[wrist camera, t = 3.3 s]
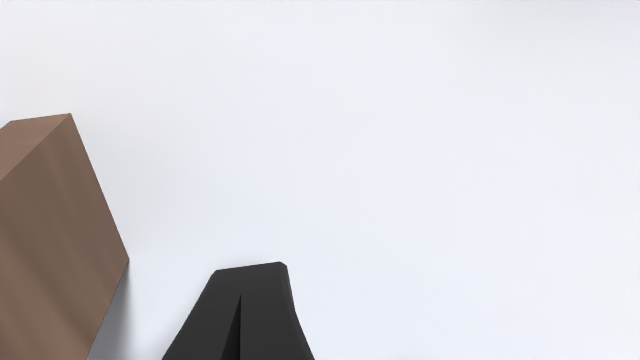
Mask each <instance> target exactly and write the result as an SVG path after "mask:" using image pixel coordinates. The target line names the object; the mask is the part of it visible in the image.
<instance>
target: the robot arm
mask: <svg viewBox="0 0 640 360" xmlns="http://www.w3.org/2000/svg"><path fill="white" fill-rule="evenodd" d="M162 360H315V359H314V357H313V355H312V353H311V350H310V348H309V345H308V343H307V340H306V338H305V336H304V333H303V331H302V328H301V326H300V323H299V320H298V318H297V315H296V312H295V307H294V302H293V296H292V291H291V286H290V280H289V275H288V270H287V266H286V265H285V264H283V263H282V262H273V263H266V264H258V265H251V266H243V267H236V268H229V269H221V270H216V271H215V272H214V273H213V274H212V275H211V277H210V279H209V281H208V283H207V284H206V286H205V288H204V290H203V292H202V293H201V295H200V297H199V299H198V300H197V302H196V304H195V306H194V307H193V309H192V311H191V313H190V314H189V316H188V318H187V319H186V321H185V323H184V324H183V326H182V328H181V329H180V331H179V333H178V334H177V336H176V337H175V339H174V341H173V342H172V344H171V345H170V347H169V349H168V350H167V352H166V353H165V355H164V356H163V358H162Z"/></svg>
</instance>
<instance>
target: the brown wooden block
mask: <svg viewBox="0 0 640 360" xmlns="http://www.w3.org/2000/svg"><path fill="white" fill-rule="evenodd" d="M128 261H129V257H128V255H127V252H126V250H125V247H124V245H123V242H122V240H121V237H120V235H119V232H118V230H117V227H116V225H115V222H114V220H113V217H112V215H111V212H110V210H109V207H108V205H107V203H106V200H105V198H104V195H103V193H102V190H101V188H100V185H99V183H98V180H97V178H96V175H95V173H94V170H93V168H92V165H91V163H90V160H89V158H88V155H87V153H86V150H85V148H84V145H83V143H82V140H81V138H80V135H79V133H78V130H77V128H76V125H75V123H74V120H73V118H72V115H71V113H68V114H60V115H53V116H45V117H38V118H30V119H23V120H15V121H10V122H9V123H7V124H6V125H5V126H4V127H2V128H1V129H0V360H86V358H87V356H88V353H89V351H90V349H91V346H92V344H93V342H94V340H95V337H96V335H97V333H98V330H99V328H100V326H101V323H102V321H103V319H104V316H105V314H106V312H107V309H108V307H109V305H110V303H111V300H112V298H113V296H114V293H115V291H116V289H117V286H118V284H119V282H120V279H121V277H122V275H123V272H124V270H125V268H126V265H127V263H128Z"/></svg>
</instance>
